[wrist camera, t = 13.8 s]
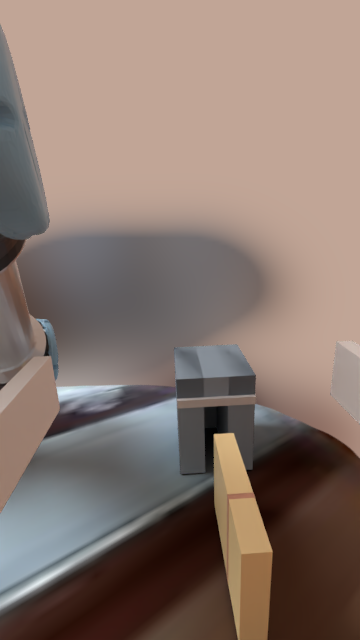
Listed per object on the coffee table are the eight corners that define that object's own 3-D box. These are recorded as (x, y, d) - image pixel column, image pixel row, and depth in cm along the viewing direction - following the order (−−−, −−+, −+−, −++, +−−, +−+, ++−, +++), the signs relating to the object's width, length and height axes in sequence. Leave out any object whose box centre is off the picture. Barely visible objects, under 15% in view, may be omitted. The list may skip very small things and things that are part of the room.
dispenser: (253, 472, 48) (256, 377, 43) (180, 477, 47) (176, 381, 43) (235, 422, 60) (237, 344, 55) (177, 426, 60) (174, 347, 55)
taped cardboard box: (267, 644, 28) (273, 551, 25) (238, 646, 28) (240, 554, 25) (233, 502, 42) (234, 432, 39) (213, 503, 42) (213, 434, 39)
